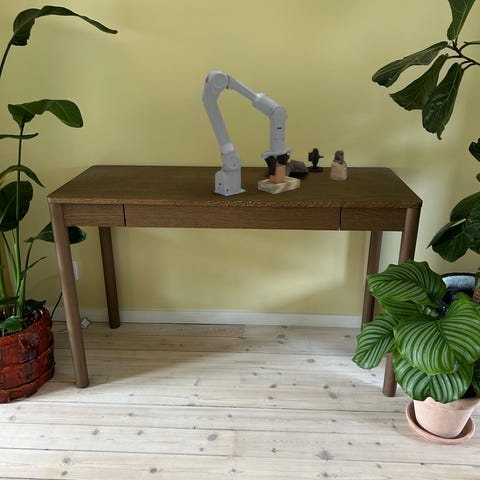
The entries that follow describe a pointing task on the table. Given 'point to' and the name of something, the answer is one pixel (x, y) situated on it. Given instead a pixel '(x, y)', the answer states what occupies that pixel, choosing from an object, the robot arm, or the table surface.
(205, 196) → the table surface
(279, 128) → the robot arm
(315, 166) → the webcam
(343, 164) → the figurine
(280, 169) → the block
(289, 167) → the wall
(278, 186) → the beige piece
